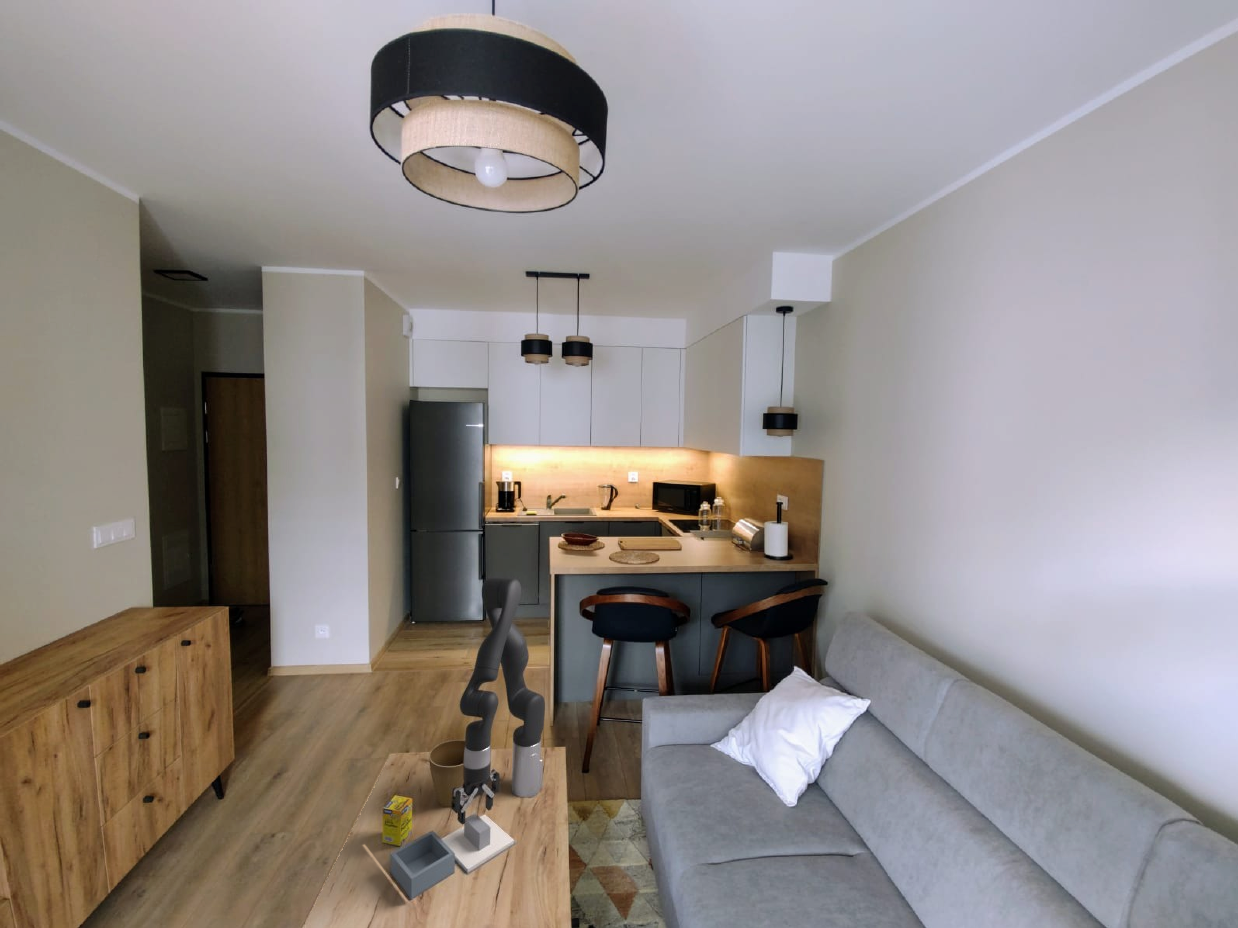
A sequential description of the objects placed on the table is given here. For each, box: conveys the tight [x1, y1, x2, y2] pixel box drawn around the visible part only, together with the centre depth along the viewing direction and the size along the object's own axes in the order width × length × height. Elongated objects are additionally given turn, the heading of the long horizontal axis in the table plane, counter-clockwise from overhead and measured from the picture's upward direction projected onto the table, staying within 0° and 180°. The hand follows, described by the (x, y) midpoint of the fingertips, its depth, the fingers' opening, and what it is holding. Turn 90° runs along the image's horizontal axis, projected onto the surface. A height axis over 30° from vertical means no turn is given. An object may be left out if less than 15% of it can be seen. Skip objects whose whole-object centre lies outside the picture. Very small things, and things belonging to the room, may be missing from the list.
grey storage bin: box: [389, 830, 456, 900], centre depth 145 cm, size 12×12×6 cm
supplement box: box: [381, 794, 413, 848], centre depth 157 cm, size 6×6×11 cm
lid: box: [440, 813, 515, 873], centre depth 156 cm, size 15×15×6 cm
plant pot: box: [428, 739, 465, 808], centre depth 174 cm, size 15×15×16 cm
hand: (475, 815), depth 155 cm, fingers open, 8 cm apart
